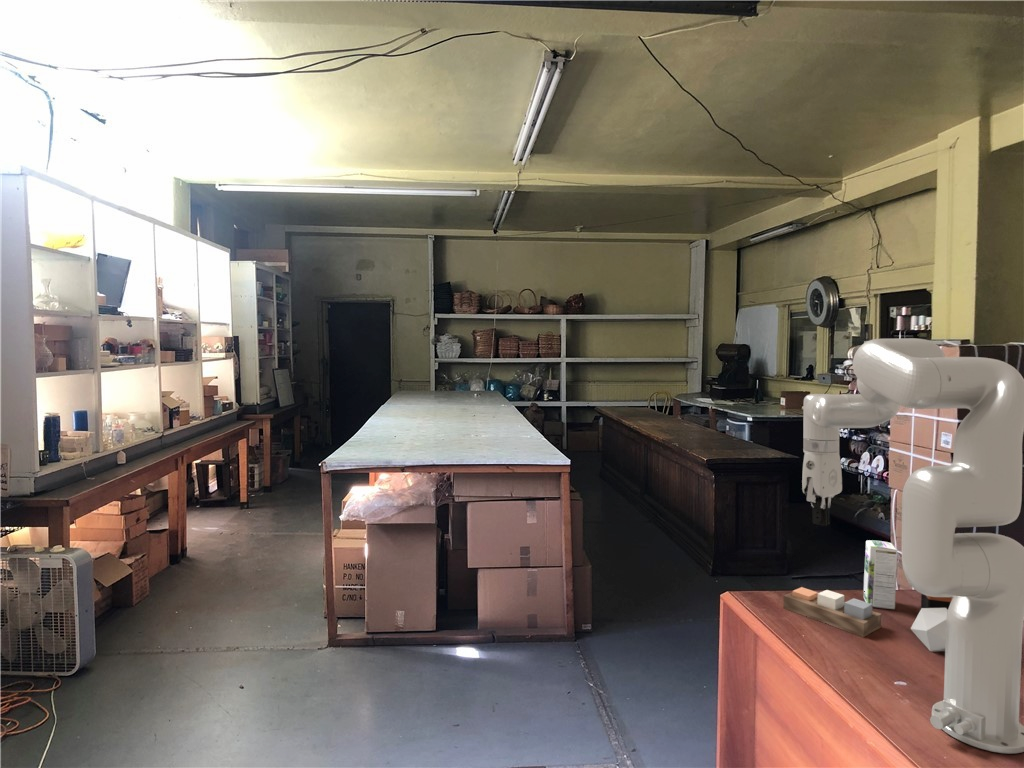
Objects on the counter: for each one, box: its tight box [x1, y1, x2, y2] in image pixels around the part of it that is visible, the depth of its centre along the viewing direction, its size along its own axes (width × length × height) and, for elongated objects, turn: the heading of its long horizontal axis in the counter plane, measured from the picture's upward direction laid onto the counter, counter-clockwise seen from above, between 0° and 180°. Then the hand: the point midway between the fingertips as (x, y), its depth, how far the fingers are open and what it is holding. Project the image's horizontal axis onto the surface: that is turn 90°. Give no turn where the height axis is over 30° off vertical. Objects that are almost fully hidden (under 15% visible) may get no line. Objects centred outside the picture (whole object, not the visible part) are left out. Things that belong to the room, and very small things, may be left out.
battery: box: [920, 593, 953, 609], centre depth 136 cm, size 4×7×10 cm, turn 158°
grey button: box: [844, 597, 874, 620], centre depth 133 cm, size 4×4×3 cm
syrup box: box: [863, 539, 898, 610], centre depth 145 cm, size 6×6×14 cm
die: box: [910, 607, 948, 652], centre depth 123 cm, size 8×9×10 cm
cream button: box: [817, 589, 845, 610], centre depth 138 cm, size 4×4×3 cm
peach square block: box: [792, 586, 819, 601], centre depth 143 cm, size 4×4×3 cm
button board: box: [782, 592, 882, 638], centre depth 138 cm, size 18×8×3 cm, turn 35°
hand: (820, 524), depth 143 cm, fingers closed
